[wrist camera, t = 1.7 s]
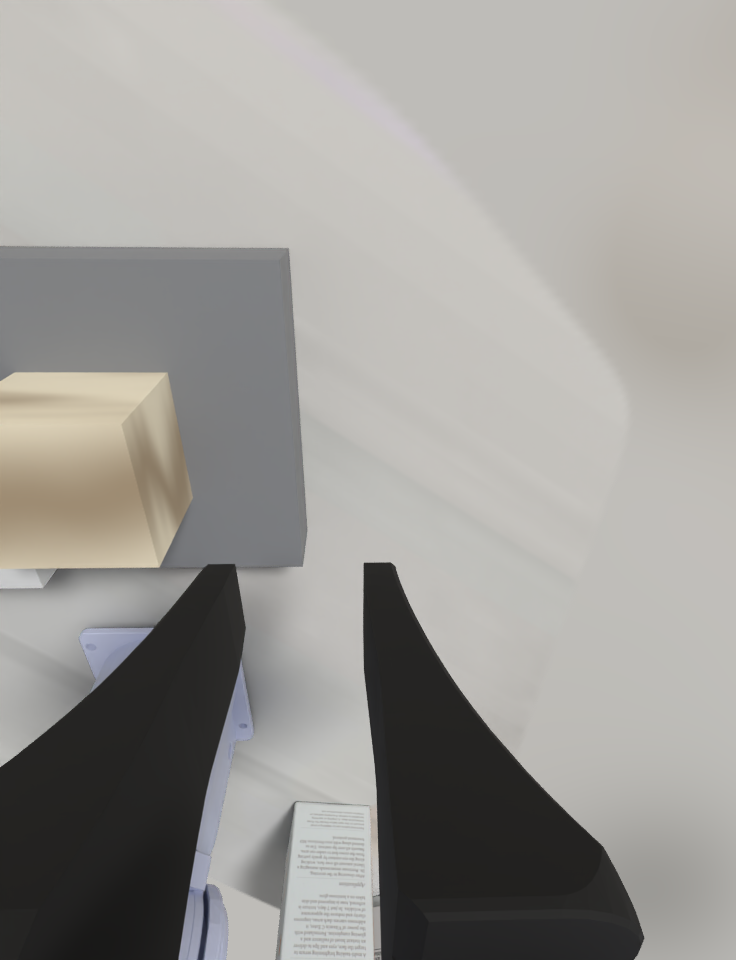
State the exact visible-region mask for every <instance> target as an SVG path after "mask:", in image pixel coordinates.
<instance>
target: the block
mask: <svg viewBox="0 0 736 960" xmlns="http://www.w3.org/2000/svg"><path fill="white" fill-rule="evenodd" d="M192 499H193V496H192V491H191V486H190V481H189V476H188V471H187V466H186V461H185V456H184V451H183V446H182V441H181V436H180V431H179V427H178V422H177V417H176V412H175V407H174V402H173V397H172V392H171V387H170V382H169V377H168V373H135V372H15V373H13V374H11V375H10V376H8V377H6V378H5V379H3V380H2V381H0V569H50V568H159V567H160V565H161V563H162V561H163V559H164V557H165V555H166V553H167V551H168V549H169V547H170V544H171V542H172V540H173V538H174V536H175V534H176V532H177V530H178V528H179V526H180V524H181V522H182V520H183V517H184V515H185V513H186V511H187V509H188V507H189V505H190V503H191V501H192Z"/></svg>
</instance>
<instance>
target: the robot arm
mask: <svg viewBox="0 0 736 960" xmlns="http://www.w3.org/2000/svg"><path fill="white" fill-rule="evenodd" d="M245 629H246V627H245V621H244V615H243V609H242V602H241V596H240V590H239V584H238V578H237V572H236V566H235V564H208V565H207V566H205V567H204V568H203V570H202V571H201V572H200V573H199V575H198V576H197V577H196V578H195V580H194V581H193V582H192V583H191V585H190V586H189V587H188V588H187V590H186V591H185V592H184V593H183V594H182V596H181V597H180V598H179V599H178V601H177V602H176V603H175V604H174V605H173V607H172V608H171V609H170V610H169V611H168V612H167V614H166V615H165V616H164V617H163V618H162V619H161V620H160V622H159V623H158V624H157V625H156V626H155V627H154V628H88V629H84V630H83V631H82V632H81V634H80V636H79V641H80V643H81V646H82V648H83V651H84V653H85V656H86V658H87V660H88V663H89V665H90V668H91V670H92V672H93V675H94V677H95V680H96V681H95V683H94V685H93V687H92V689H91V691H90V693H89V695H88V696H87V697H86V698H84V699H83V700H82V701H81V702H80V703H79V704H78V705H77V706H76V707H75V708H73V709H72V710H71V711H70V712H69V713H68V714H67V715H65V716H64V717H63V718H62V719H61V720H59V721H58V722H57V723H56V724H55V725H53V726H52V727H51V728H50V729H49V730H47V731H46V732H45V733H44V734H42V735H41V736H40V737H39V738H37V739H36V740H35V741H34V742H32V743H31V744H30V745H29V746H28V747H26V748H25V749H24V750H23V751H21V752H20V753H19V754H18V755H16V756H15V757H14V758H12V759H11V760H10V761H8V762H7V763H6V764H4V765H3V766H1V767H0V960H226V956H227V946H228V917H227V912H226V909H225V907H224V904H223V900H222V896H221V893H220V890H219V888H218V887H216V886H215V885H212V884H206V881H207V877H208V872H209V867H210V862H211V856H210V854H211V852H212V849H213V847H214V844H215V840H216V836H217V832H218V827H219V822H220V817H221V812H222V807H223V802H224V798H225V793H226V788H227V783H228V778H229V773H230V768H231V763H232V758H233V753H234V748H235V744H236V741H237V740H250V739H251V738H252V737H253V734H254V727H253V722H252V716H251V710H250V705H249V699H248V694H247V688H246V682H245V677H244V671H243V666H242V660H241V656H242V650H243V643H244V636H245ZM363 638H364V674H365V683H366V692H367V701H368V710H369V718H370V727H371V736H372V745H373V754H374V763H375V774H376V787H377V819H378V853H379V889H380V928H381V960H634V959H635V957H636V956H637V954H638V952H639V950H640V948H641V945H642V943H643V940H644V936H643V932H642V929H641V926H640V923H639V920H638V917H637V915H636V911H635V909H634V907H633V904H632V902H631V900H630V898H629V896H628V893H627V891H626V889H625V887H624V885H623V883H622V881H621V879H620V877H619V875H618V873H617V871H616V869H615V867H614V866H613V864H612V862H611V860H610V858H609V856H608V854H607V853H606V851H605V849H604V847H603V846H602V845H601V844H600V843H599V842H598V841H597V840H595V839H594V838H593V837H592V836H591V835H590V834H589V833H588V832H587V831H586V830H585V829H584V828H583V827H581V826H580V825H579V824H578V823H577V822H576V821H575V820H574V819H573V818H572V817H571V816H570V815H569V814H568V813H567V812H566V811H565V810H564V809H563V808H562V807H561V806H560V805H559V804H558V803H557V802H556V801H555V800H554V799H553V798H552V797H551V796H550V795H549V794H548V793H547V792H546V791H545V790H544V789H543V788H542V787H541V786H540V785H539V784H538V783H537V782H536V781H535V780H534V778H533V777H532V776H531V775H530V774H529V773H528V772H527V771H526V770H525V769H524V768H523V767H522V765H521V764H520V763H519V762H518V761H517V760H516V759H515V757H514V756H513V755H512V754H511V753H510V752H509V751H508V749H507V748H506V747H505V746H504V745H503V744H502V742H501V741H500V740H499V739H498V738H497V737H496V736H495V734H494V733H493V732H492V731H491V730H490V729H489V727H488V726H487V725H486V723H485V722H484V721H483V720H482V718H481V717H480V716H479V715H478V713H477V712H476V711H475V709H474V708H473V707H472V705H471V704H470V703H469V701H468V700H467V699H466V697H465V696H464V695H463V693H462V692H461V690H460V689H459V688H458V686H457V685H456V683H455V682H454V680H453V679H452V677H451V676H450V674H449V673H448V671H447V670H446V668H445V667H444V665H443V663H442V662H441V660H440V659H439V657H438V655H437V654H436V652H435V651H434V649H433V647H432V645H431V644H430V642H429V640H428V639H427V637H426V635H425V633H424V631H423V629H422V627H421V626H420V624H419V622H418V620H417V618H416V616H415V614H414V612H413V610H412V608H411V606H410V604H409V602H408V600H407V597H406V595H405V593H404V590H403V588H402V586H401V583H400V580H399V577H398V574H397V571H396V567H395V566H394V565H393V564H392V563H364V601H363Z"/></svg>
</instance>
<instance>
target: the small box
mask: <svg viewBox="0 0 736 960" xmlns="http://www.w3.org/2000/svg"><path fill="white" fill-rule="evenodd" d="M276 950H277V951H276V959H275V960H375V954H374V921H373V890H372V852H371V809H370V806H365V805H344V804H329V803H314V802H296V803H295V805H294V813H293V819H292V825H291V832H290V838H289V845H288V850H287V855H286V864H285V872H284V882H283V891H282V901H281V910H280V920H279V930H278V940H277V949H276Z"/></svg>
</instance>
